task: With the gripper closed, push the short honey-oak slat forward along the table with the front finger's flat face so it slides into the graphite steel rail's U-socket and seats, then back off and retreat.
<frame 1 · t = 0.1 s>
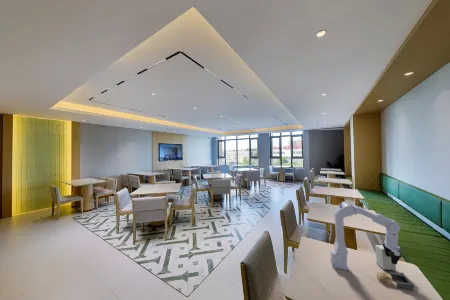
hand: (391, 259, 112), 10 cm above the table, fingers open, 7 cm apart
slat: (384, 281, 108), on the table
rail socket: (400, 283, 105), on the table
supplement box: (386, 267, 119), on the table, touching gripper
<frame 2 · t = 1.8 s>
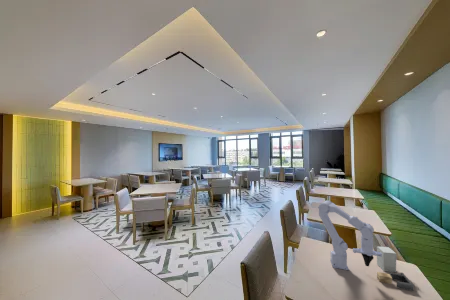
hand: (366, 265, 111), 8 cm above the table, fingers closed
supplement box: (386, 268, 119), on the table
everything else where it was.
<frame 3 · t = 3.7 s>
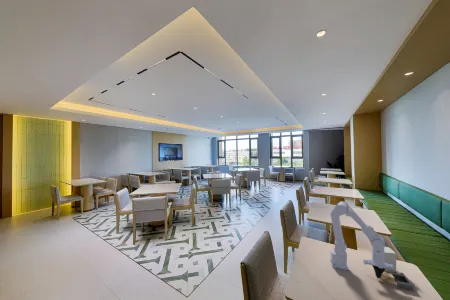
hand: (377, 277, 109), 1 cm above the table, fingers closed
slat: (386, 281, 108), on the table, touching gripper
everything else where it was.
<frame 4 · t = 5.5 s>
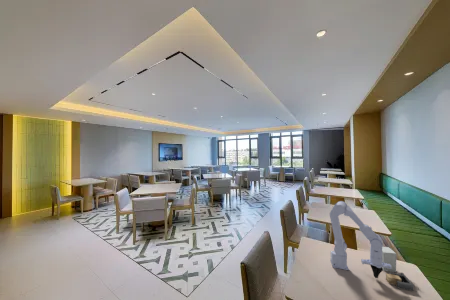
hand: (375, 276, 109), 1 cm above the table, fingers closed
slat: (393, 282, 106), on the table
everything else where it was.
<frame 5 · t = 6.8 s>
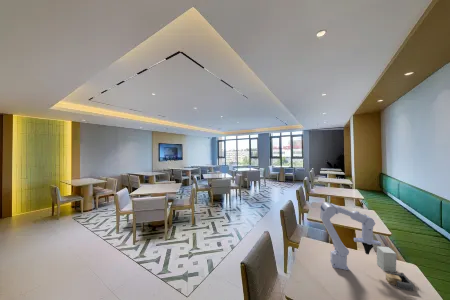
hand: (366, 253, 119), 10 cm above the table, fingers closed
nothing on the table moved.
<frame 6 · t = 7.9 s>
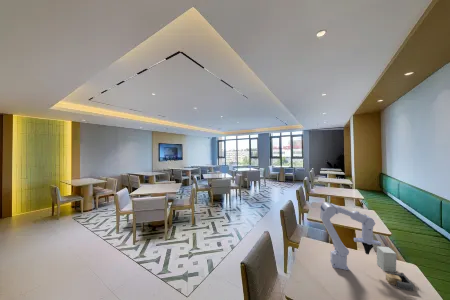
hand: (366, 253, 119), 10 cm above the table, fingers closed
nothing on the table moved.
at the end: slat 1.1 cm from the target spot, on the table; slat tilted 0°; the gripper is holding nothing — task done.
